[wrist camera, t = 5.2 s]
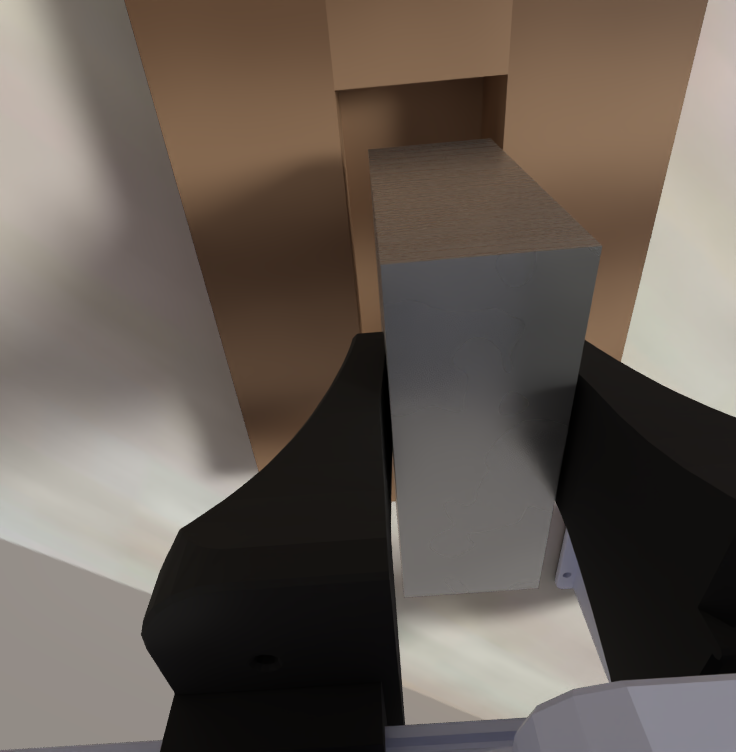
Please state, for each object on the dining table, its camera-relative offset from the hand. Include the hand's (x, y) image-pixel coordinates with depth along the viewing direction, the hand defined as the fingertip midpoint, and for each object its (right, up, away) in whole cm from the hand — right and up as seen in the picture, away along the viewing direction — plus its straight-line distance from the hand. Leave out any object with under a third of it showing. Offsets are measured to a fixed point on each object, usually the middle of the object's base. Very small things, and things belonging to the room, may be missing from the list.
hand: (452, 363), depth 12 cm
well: (0, +5, +7) cm, 9 cm away
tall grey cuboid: (0, +2, +3) cm, 4 cm away
